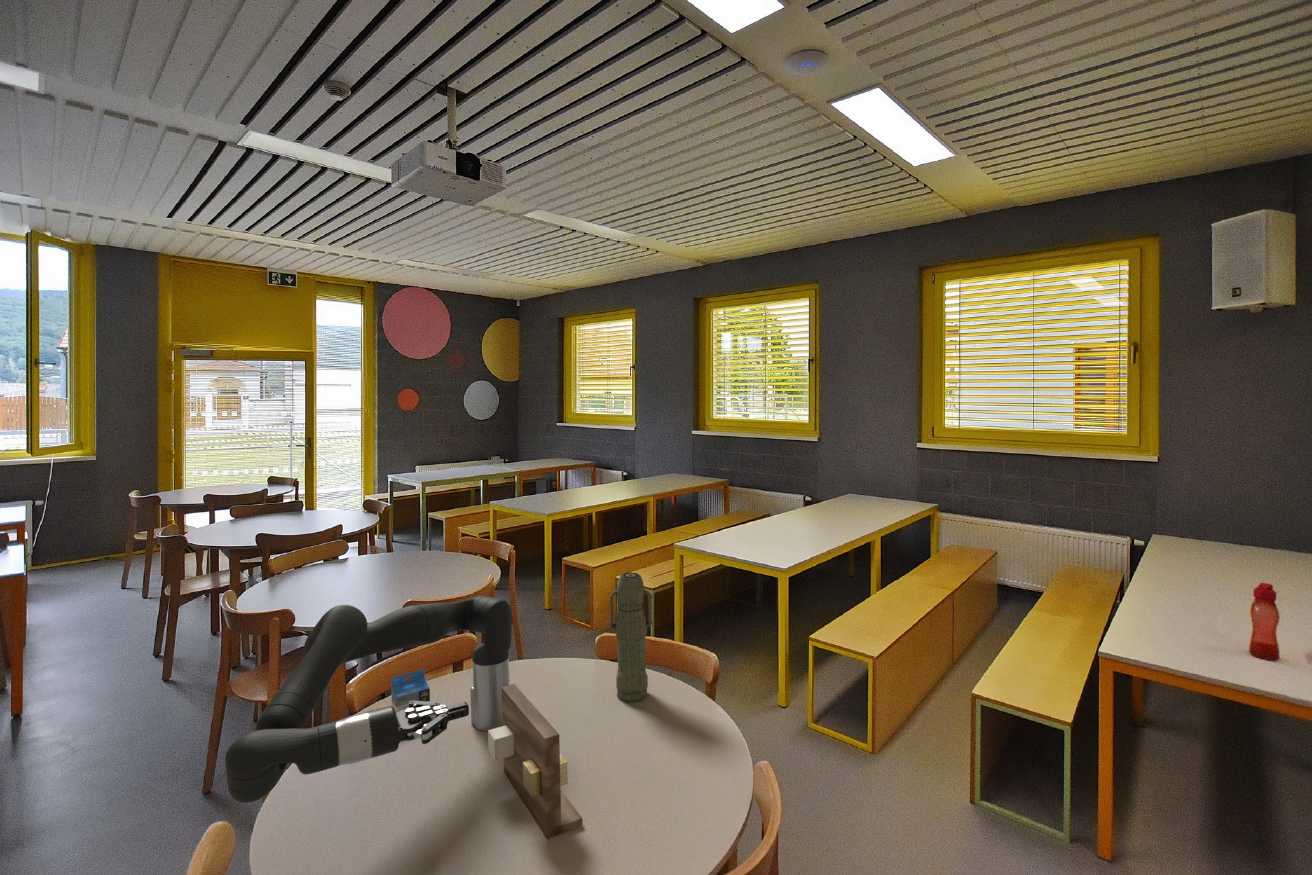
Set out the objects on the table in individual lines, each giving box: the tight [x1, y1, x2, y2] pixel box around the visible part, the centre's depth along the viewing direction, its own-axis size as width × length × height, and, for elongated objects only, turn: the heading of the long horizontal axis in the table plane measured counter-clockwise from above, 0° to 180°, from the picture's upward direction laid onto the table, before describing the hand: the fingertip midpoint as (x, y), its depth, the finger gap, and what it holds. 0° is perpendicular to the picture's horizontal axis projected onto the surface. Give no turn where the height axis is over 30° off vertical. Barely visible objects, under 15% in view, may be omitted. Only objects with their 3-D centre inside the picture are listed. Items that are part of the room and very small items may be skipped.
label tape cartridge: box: [390, 668, 431, 713], centre depth 168 cm, size 9×4×12 cm, turn 129°
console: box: [501, 683, 583, 840], centre depth 135 cm, size 8×26×20 cm, turn 32°
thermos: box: [609, 571, 653, 704], centre depth 180 cm, size 9×12×35 cm
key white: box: [487, 725, 514, 762], centre depth 139 cm, size 8×5×5 cm, turn 122°
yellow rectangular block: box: [523, 753, 569, 797], centre depth 127 cm, size 8×5×5 cm, turn 122°
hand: (467, 707), depth 118 cm, fingers closed
